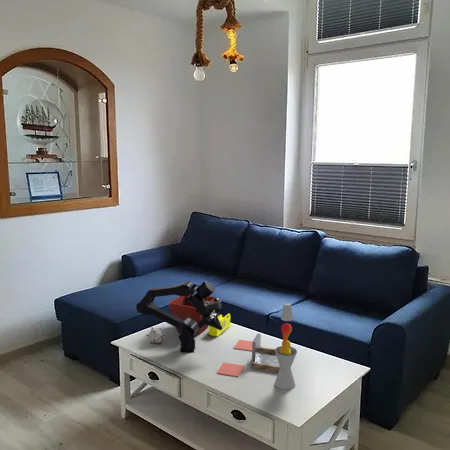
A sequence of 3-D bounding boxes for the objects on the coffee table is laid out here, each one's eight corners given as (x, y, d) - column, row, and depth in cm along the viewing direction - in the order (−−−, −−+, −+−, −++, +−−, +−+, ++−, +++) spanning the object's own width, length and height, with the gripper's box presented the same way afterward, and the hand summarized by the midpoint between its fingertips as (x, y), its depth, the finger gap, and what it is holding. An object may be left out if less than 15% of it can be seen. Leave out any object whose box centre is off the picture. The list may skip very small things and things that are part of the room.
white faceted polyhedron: (159, 348, 235) (170, 331, 236) (155, 349, 227) (167, 332, 228) (145, 338, 237) (156, 321, 238) (140, 339, 229) (152, 322, 230)
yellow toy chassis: (218, 338, 240) (217, 322, 238) (208, 336, 242) (208, 320, 241) (231, 327, 254) (231, 312, 252) (221, 325, 256) (221, 311, 255)
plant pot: (216, 326, 254) (216, 297, 251) (200, 339, 237) (200, 308, 234) (185, 320, 262) (185, 292, 259) (168, 333, 245) (167, 302, 242)
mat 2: (233, 348, 227) (233, 347, 227) (239, 340, 237) (239, 339, 237) (253, 351, 224) (253, 350, 224) (258, 343, 234) (258, 342, 234)
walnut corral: (250, 368, 208) (250, 363, 207) (259, 351, 224) (259, 346, 224) (283, 373, 203) (283, 368, 203) (290, 356, 220) (290, 351, 219)
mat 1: (216, 373, 203) (216, 372, 203) (223, 363, 212) (223, 362, 212) (238, 377, 200) (238, 376, 200) (244, 366, 209) (244, 365, 209)
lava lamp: (295, 390, 189) (298, 309, 183) (273, 388, 191) (275, 307, 184) (295, 379, 198) (298, 301, 192) (274, 377, 199) (276, 300, 193)
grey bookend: (251, 364, 211) (252, 341, 209) (257, 355, 221) (257, 333, 219) (277, 368, 208) (278, 345, 206) (282, 358, 217) (282, 336, 215)
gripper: (203, 301, 208) (226, 328, 207) (218, 287, 225) (239, 312, 224) (187, 315, 212) (210, 341, 211) (203, 301, 230) (223, 325, 228)
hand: (221, 329), depth 219 cm, fingers closed
